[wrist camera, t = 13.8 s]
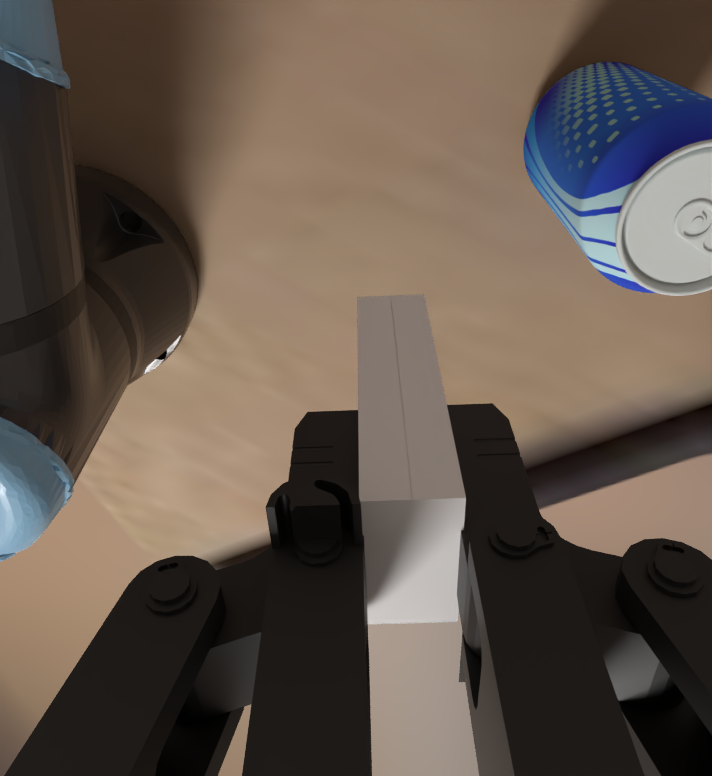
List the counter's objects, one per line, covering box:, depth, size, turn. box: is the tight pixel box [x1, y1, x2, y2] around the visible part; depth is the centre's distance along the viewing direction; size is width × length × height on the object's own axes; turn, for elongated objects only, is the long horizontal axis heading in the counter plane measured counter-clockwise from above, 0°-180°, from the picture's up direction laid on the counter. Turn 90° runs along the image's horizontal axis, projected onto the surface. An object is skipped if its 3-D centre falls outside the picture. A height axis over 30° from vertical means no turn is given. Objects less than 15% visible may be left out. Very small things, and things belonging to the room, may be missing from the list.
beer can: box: [524, 62, 712, 296], centre depth 34 cm, size 8×8×16 cm
